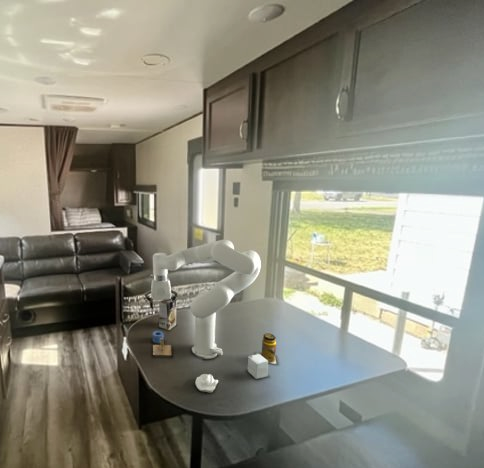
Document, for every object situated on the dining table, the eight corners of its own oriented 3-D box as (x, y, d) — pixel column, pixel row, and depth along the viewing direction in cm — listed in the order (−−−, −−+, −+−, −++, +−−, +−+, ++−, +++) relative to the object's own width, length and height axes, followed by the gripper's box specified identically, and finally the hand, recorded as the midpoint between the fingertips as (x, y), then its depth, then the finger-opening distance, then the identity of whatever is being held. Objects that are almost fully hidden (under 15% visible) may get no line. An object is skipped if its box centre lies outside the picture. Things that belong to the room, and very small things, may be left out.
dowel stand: (170, 347, 153) (170, 334, 152) (171, 357, 144) (171, 343, 143) (153, 346, 154) (153, 334, 152) (152, 357, 145) (152, 343, 144)
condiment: (276, 364, 138) (278, 340, 135) (257, 361, 140) (258, 337, 138) (274, 355, 144) (276, 332, 142) (256, 353, 147) (257, 330, 145)
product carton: (267, 376, 129) (268, 361, 128) (255, 379, 127) (256, 363, 126) (258, 368, 135) (259, 353, 134) (247, 370, 133) (247, 355, 132)
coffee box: (168, 331, 170) (168, 304, 167) (158, 328, 173) (158, 301, 171) (176, 325, 177) (176, 299, 174) (167, 322, 181) (167, 296, 178)
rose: (223, 381, 120) (201, 385, 117) (223, 391, 120) (201, 395, 118) (212, 367, 129) (191, 370, 127) (212, 376, 130) (191, 379, 128)
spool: (165, 341, 159) (165, 332, 158) (159, 346, 154) (159, 337, 153) (156, 338, 162) (156, 329, 161) (150, 343, 157) (150, 334, 156)
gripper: (143, 279, 150) (144, 311, 152) (178, 278, 149) (178, 311, 152) (143, 275, 157) (145, 306, 160) (176, 274, 156) (177, 305, 159)
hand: (161, 308), depth 156 cm, fingers open, 9 cm apart
